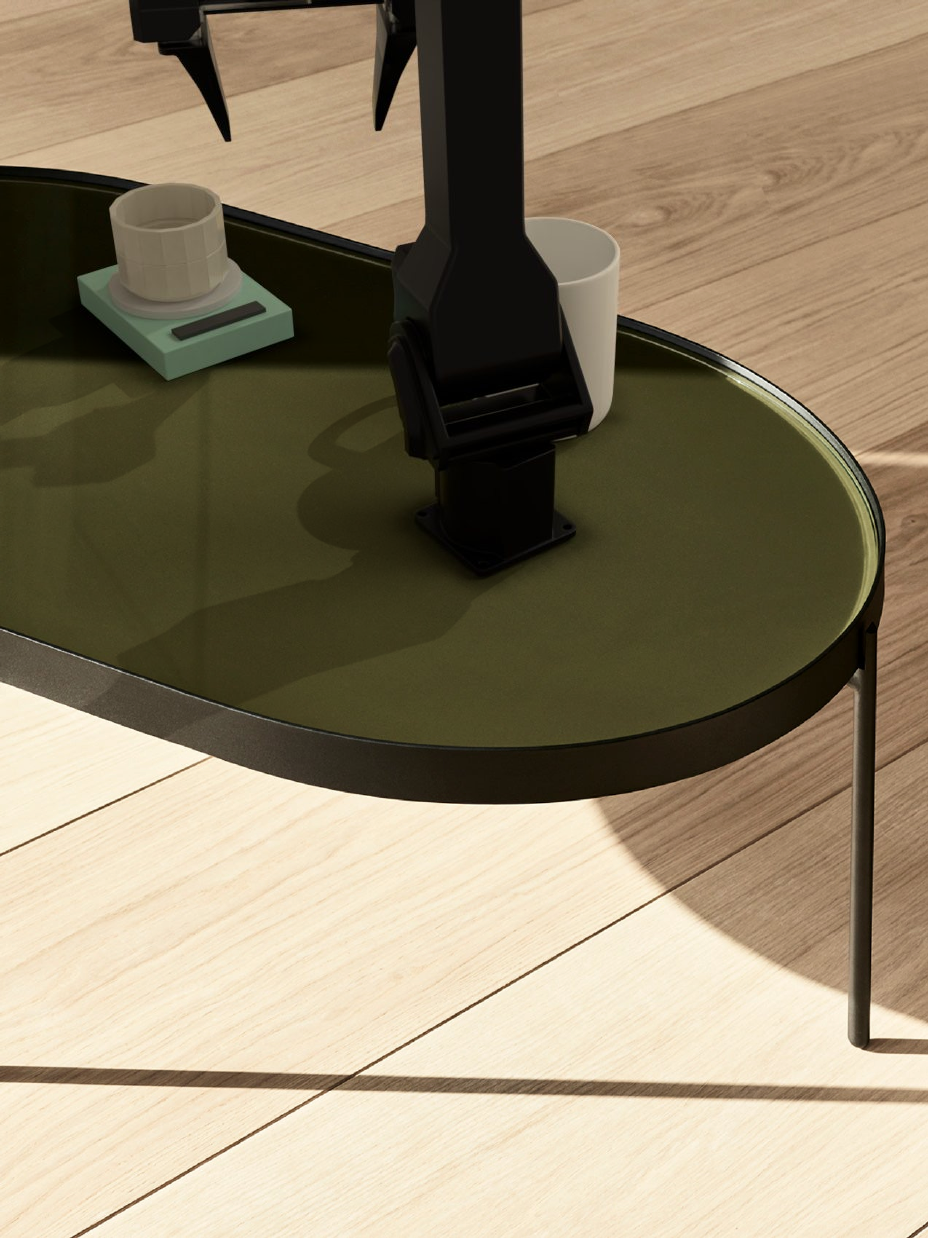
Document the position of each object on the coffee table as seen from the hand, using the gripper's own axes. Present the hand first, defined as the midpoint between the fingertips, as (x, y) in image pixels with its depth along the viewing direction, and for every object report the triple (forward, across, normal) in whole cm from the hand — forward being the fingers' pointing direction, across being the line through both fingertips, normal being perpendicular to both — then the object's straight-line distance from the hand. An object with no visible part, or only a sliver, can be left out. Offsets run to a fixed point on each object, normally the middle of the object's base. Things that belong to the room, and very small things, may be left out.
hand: (303, 133), depth 103 cm
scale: (+11, +8, +2) cm, 14 cm away
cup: (+11, -11, +15) cm, 21 cm away
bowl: (+8, +9, +1) cm, 12 cm away
